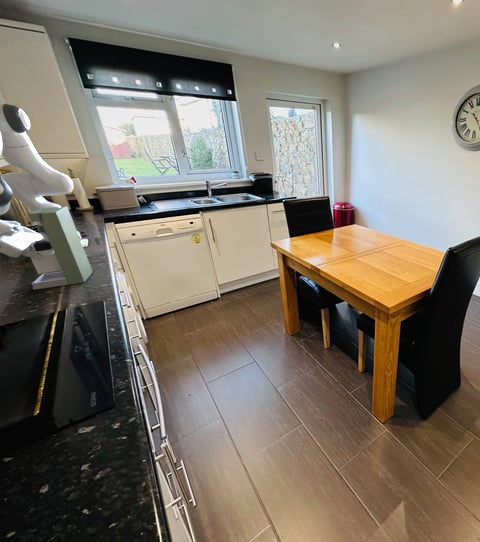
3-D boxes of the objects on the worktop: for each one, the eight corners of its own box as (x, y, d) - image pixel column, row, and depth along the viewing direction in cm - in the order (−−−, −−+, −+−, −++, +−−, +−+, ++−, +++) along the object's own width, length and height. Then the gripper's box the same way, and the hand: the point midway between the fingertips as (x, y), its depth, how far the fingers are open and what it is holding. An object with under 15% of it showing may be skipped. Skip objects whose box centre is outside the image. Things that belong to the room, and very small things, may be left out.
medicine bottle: (63, 264, 118) (52, 237, 113) (64, 269, 113) (51, 241, 109) (39, 269, 113) (25, 240, 109) (38, 274, 109) (24, 245, 104)
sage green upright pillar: (45, 278, 118) (13, 209, 106) (92, 271, 125) (67, 206, 113) (32, 289, 108) (-5, 215, 97) (84, 282, 115) (55, 212, 104)
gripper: (-12, 233, 95) (40, 256, 103) (17, 220, 111) (61, 240, 119) (-25, 247, 94) (29, 269, 103) (6, 232, 111) (51, 252, 119)
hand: (46, 253), depth 111 cm, fingers closed on medicine bottle, 8 cm apart
